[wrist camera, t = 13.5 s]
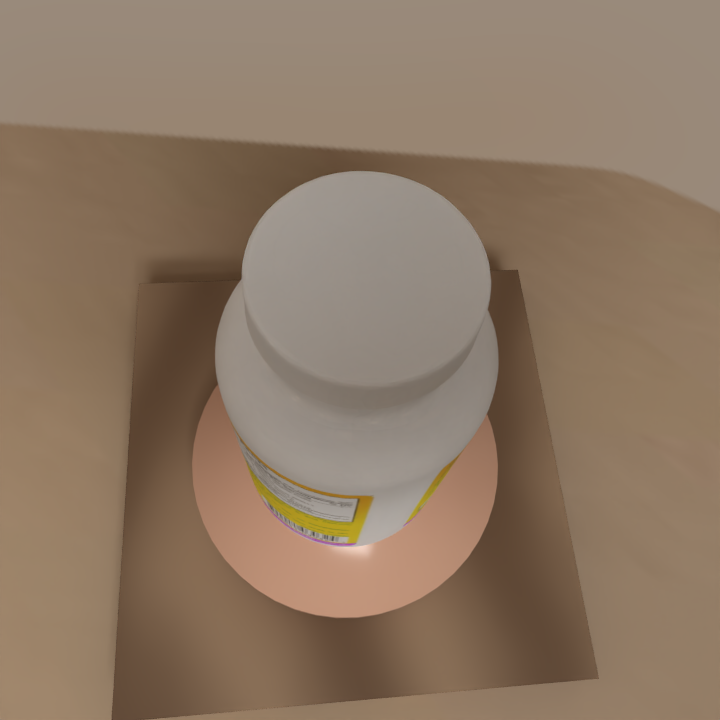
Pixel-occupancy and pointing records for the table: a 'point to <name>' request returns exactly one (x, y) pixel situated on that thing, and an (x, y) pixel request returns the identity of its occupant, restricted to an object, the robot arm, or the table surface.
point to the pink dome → (328, 563)
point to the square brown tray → (315, 633)
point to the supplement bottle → (357, 353)
